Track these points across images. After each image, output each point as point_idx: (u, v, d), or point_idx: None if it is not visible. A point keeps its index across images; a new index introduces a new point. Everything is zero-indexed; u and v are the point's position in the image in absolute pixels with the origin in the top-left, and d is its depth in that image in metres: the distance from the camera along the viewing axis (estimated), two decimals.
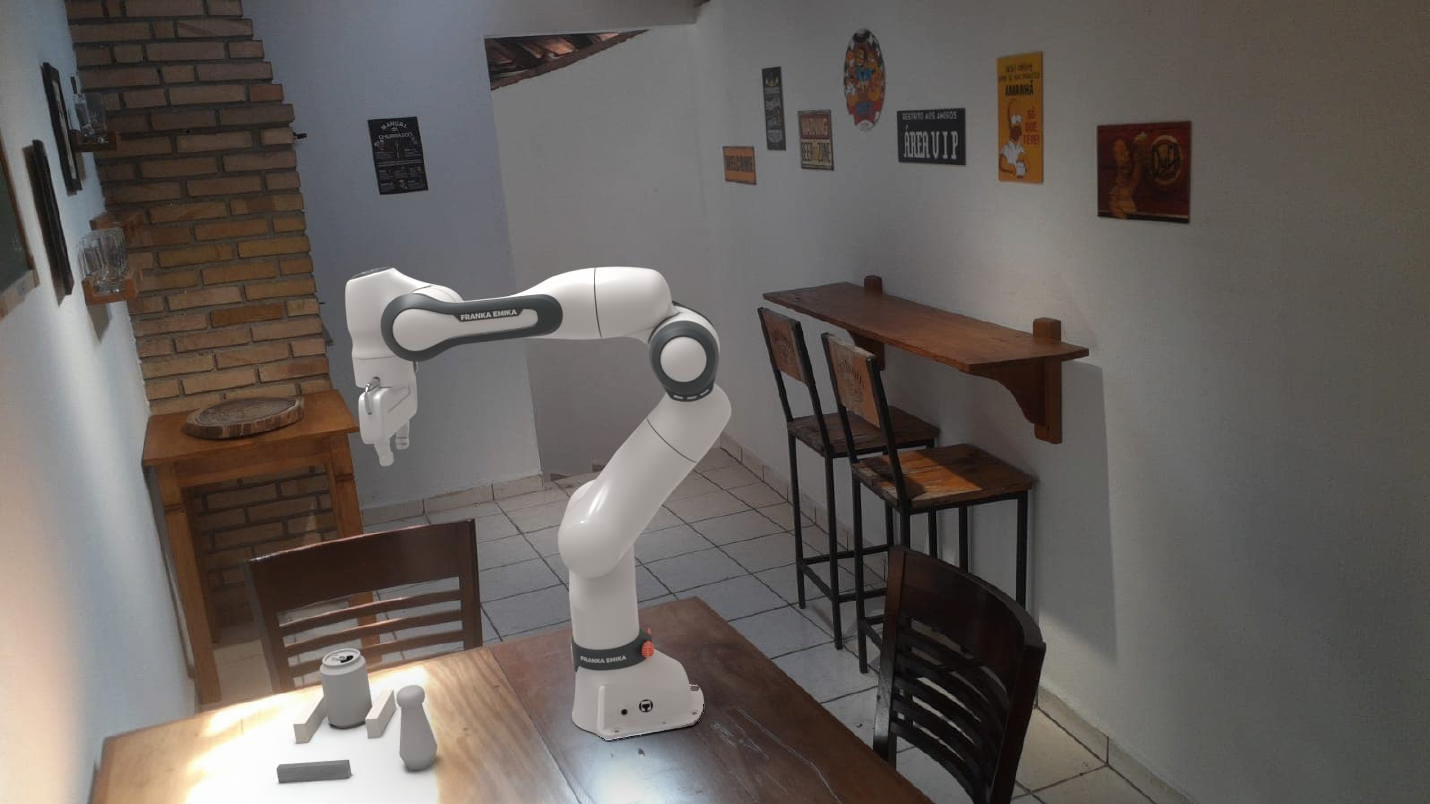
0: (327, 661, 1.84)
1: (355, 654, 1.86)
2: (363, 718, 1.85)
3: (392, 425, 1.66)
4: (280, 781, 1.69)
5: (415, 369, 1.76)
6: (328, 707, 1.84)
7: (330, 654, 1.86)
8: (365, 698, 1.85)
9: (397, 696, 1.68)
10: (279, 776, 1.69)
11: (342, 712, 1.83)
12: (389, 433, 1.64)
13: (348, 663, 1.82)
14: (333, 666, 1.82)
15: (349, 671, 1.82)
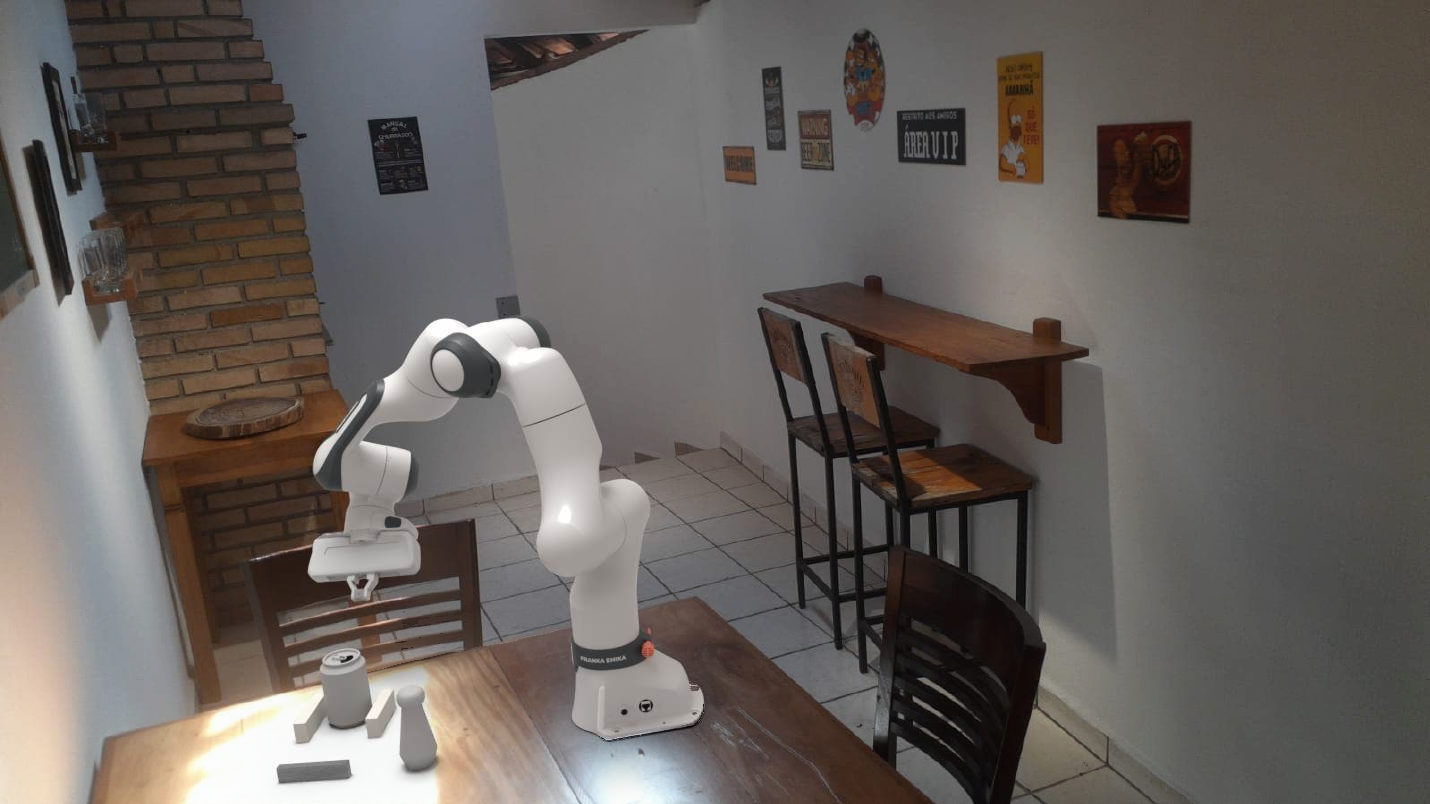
0: (327, 661, 1.84)
1: (355, 654, 1.86)
2: (363, 718, 1.85)
3: (330, 565, 1.98)
4: (280, 781, 1.69)
5: (394, 525, 1.99)
6: (328, 707, 1.84)
7: (330, 654, 1.86)
8: (365, 698, 1.85)
9: (397, 696, 1.68)
10: (279, 776, 1.69)
11: (342, 712, 1.83)
12: (320, 570, 1.97)
13: (348, 663, 1.82)
14: (333, 666, 1.82)
15: (349, 671, 1.82)
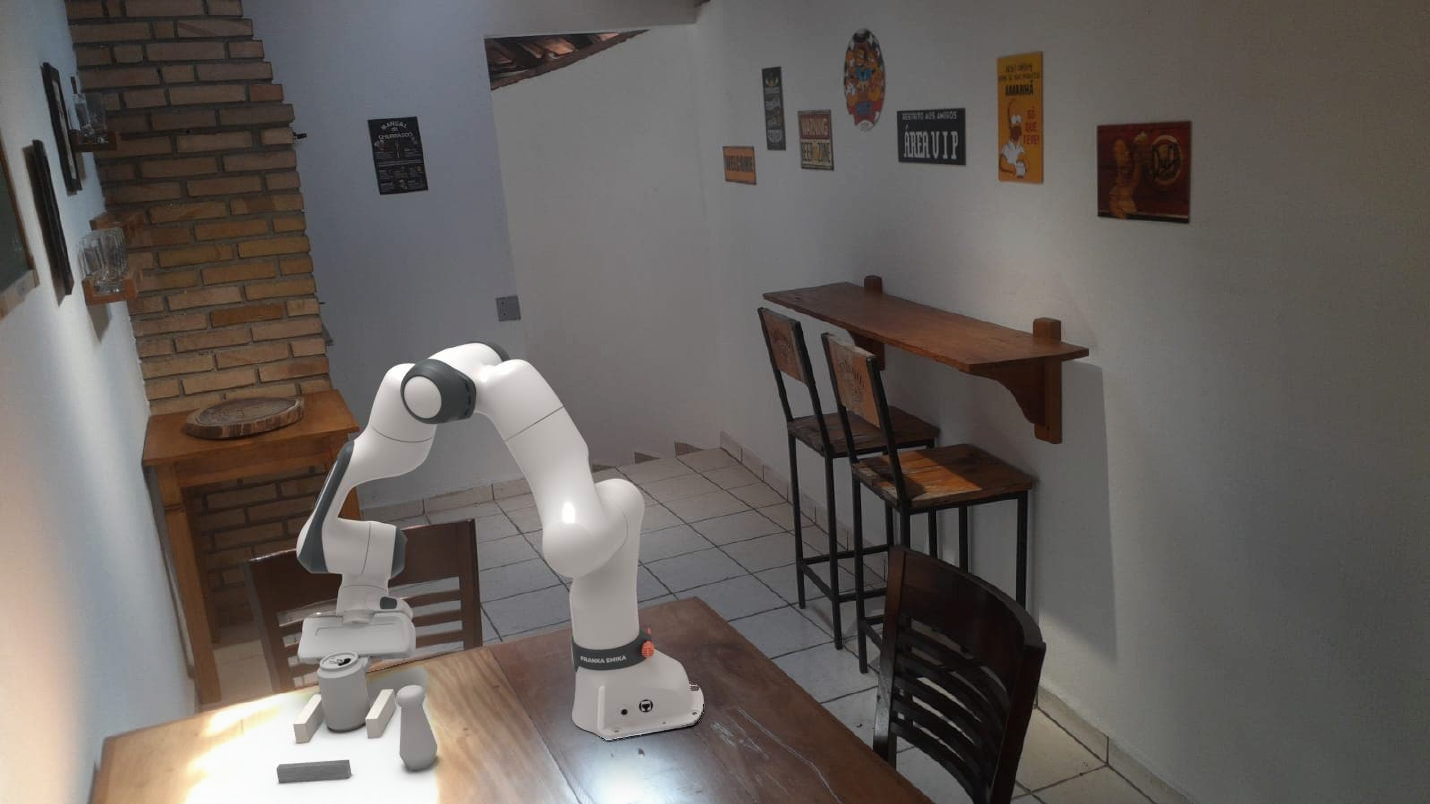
0: (324, 664, 1.83)
1: (353, 657, 1.85)
2: (361, 721, 1.84)
3: (322, 647, 1.91)
4: (280, 781, 1.69)
5: (390, 606, 1.93)
6: (326, 710, 1.82)
7: (327, 657, 1.85)
8: (363, 701, 1.84)
9: (397, 696, 1.68)
10: (279, 776, 1.69)
11: (340, 716, 1.82)
12: (311, 652, 1.91)
13: (346, 666, 1.81)
14: (331, 669, 1.80)
15: (347, 674, 1.81)
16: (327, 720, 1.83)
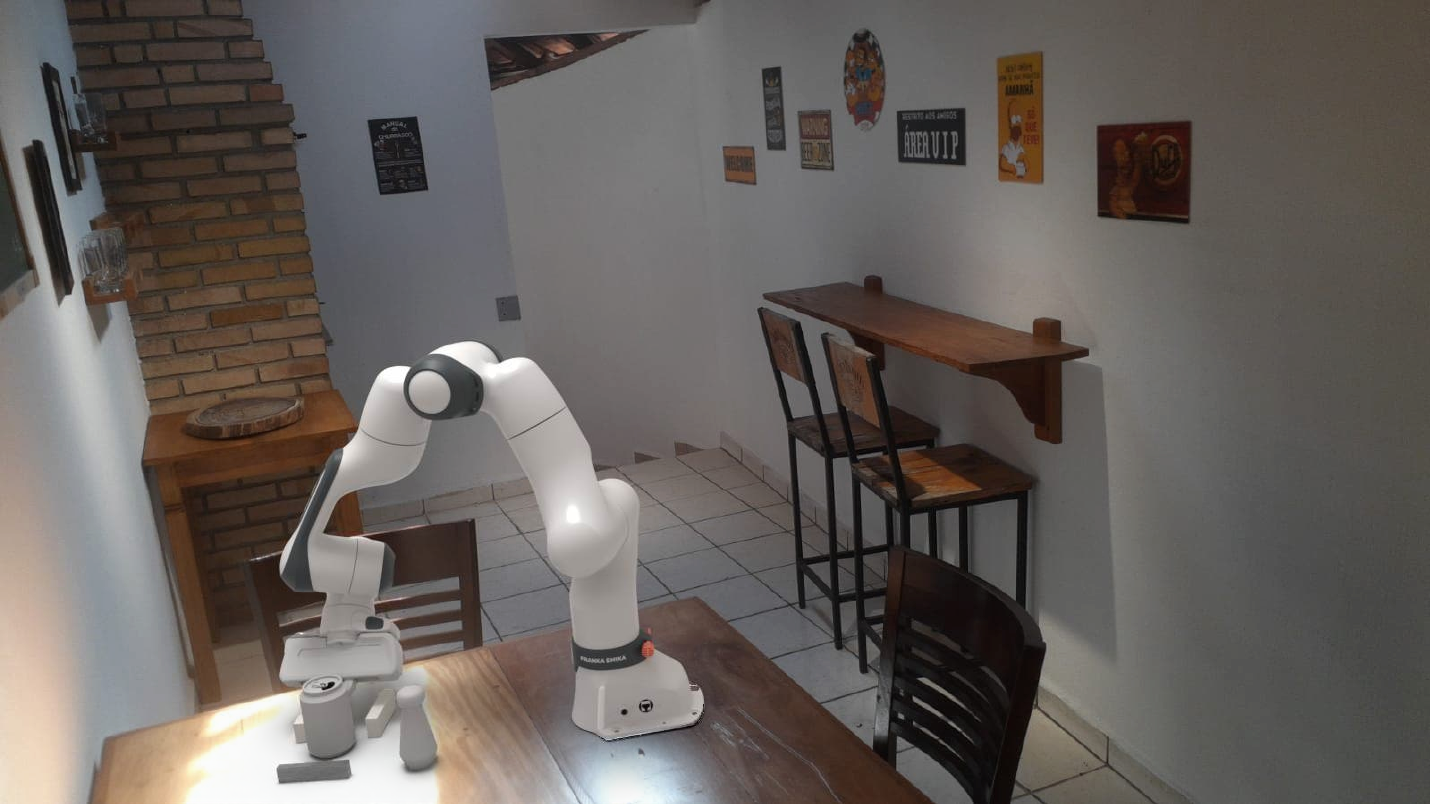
0: (307, 689, 1.75)
1: (337, 680, 1.77)
2: (346, 747, 1.76)
3: (305, 669, 1.83)
4: (280, 781, 1.69)
5: (376, 626, 1.85)
6: (309, 737, 1.74)
7: (310, 681, 1.76)
8: (348, 726, 1.76)
9: (397, 696, 1.68)
10: (279, 776, 1.69)
11: (324, 742, 1.74)
12: (293, 675, 1.82)
13: (330, 690, 1.73)
14: (314, 693, 1.72)
15: (331, 699, 1.73)
16: (310, 747, 1.75)
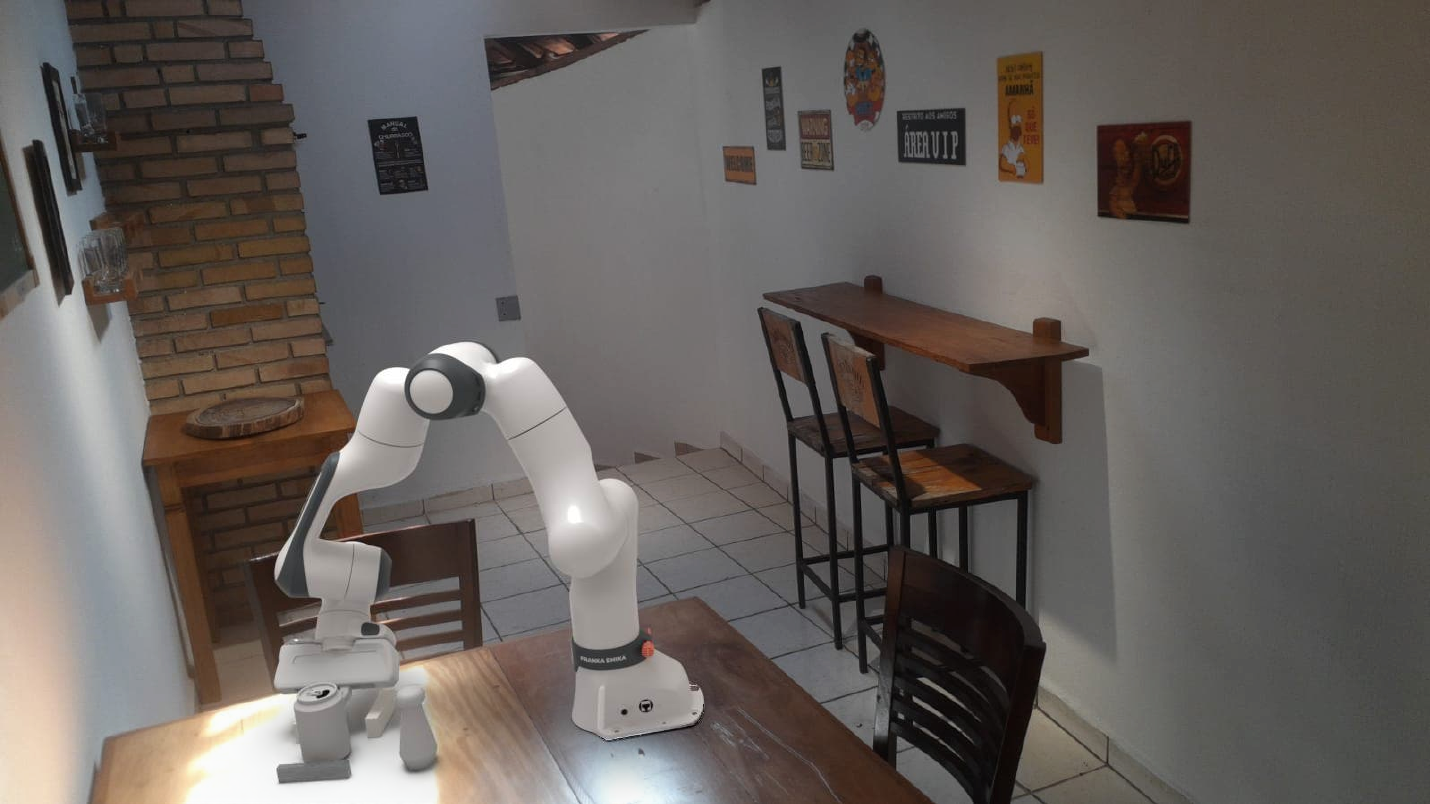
0: (302, 697, 1.72)
1: (331, 688, 1.74)
2: (341, 756, 1.73)
3: (300, 676, 1.80)
4: (280, 781, 1.69)
5: (372, 632, 1.82)
6: (303, 746, 1.72)
7: (304, 689, 1.74)
8: (343, 735, 1.73)
9: (397, 696, 1.68)
10: (279, 776, 1.69)
11: (318, 751, 1.71)
12: (288, 682, 1.80)
13: (325, 698, 1.71)
14: (309, 702, 1.70)
15: (326, 707, 1.70)
16: (305, 756, 1.72)
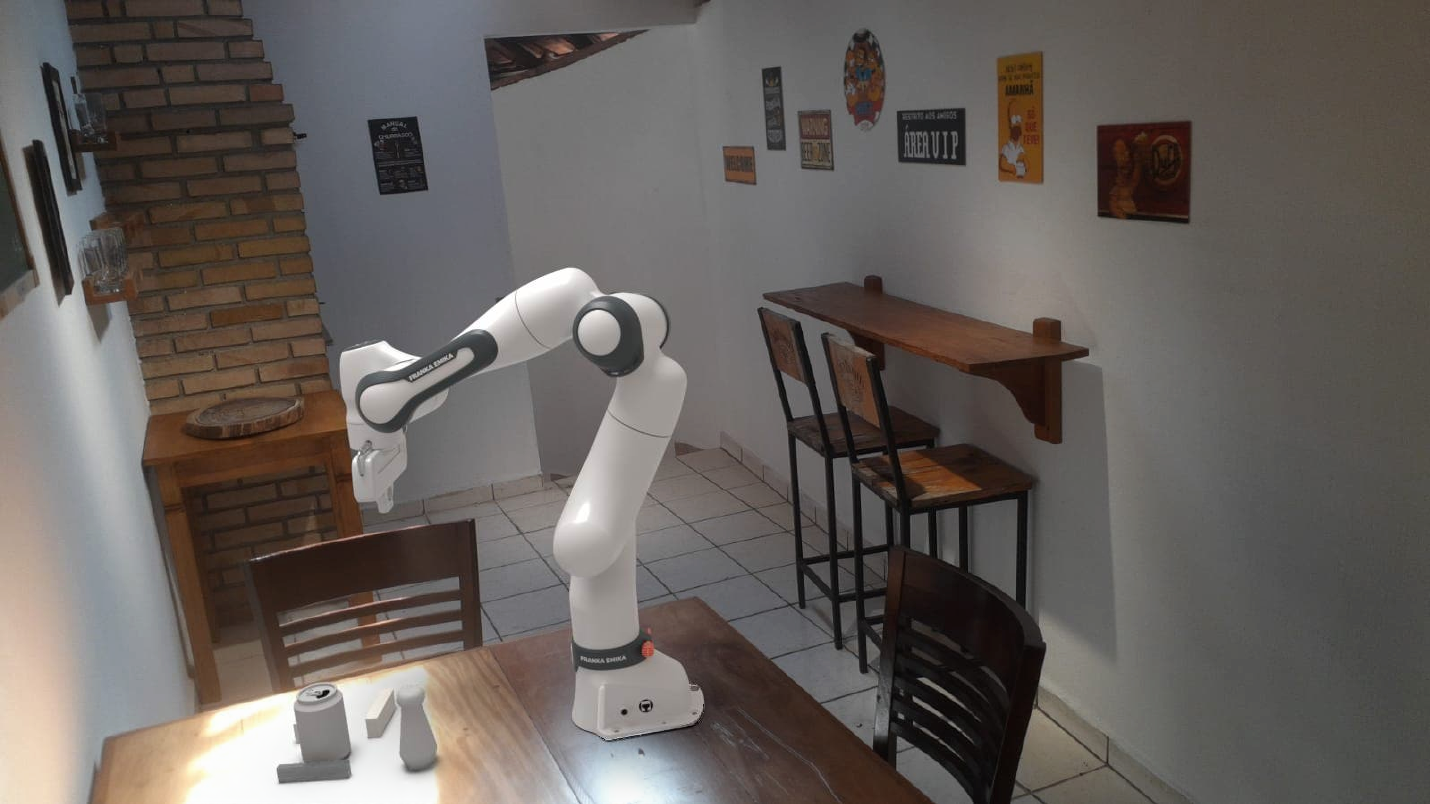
0: (301, 697, 1.72)
1: (331, 688, 1.74)
2: (341, 756, 1.73)
3: (382, 484, 1.82)
4: (280, 781, 1.69)
5: (404, 430, 1.92)
6: (303, 746, 1.72)
7: (304, 689, 1.74)
8: (343, 735, 1.73)
9: (397, 696, 1.68)
10: (279, 776, 1.69)
11: (318, 751, 1.71)
12: (380, 492, 1.81)
13: (325, 698, 1.71)
14: (309, 702, 1.70)
15: (326, 707, 1.70)
16: (305, 756, 1.72)
